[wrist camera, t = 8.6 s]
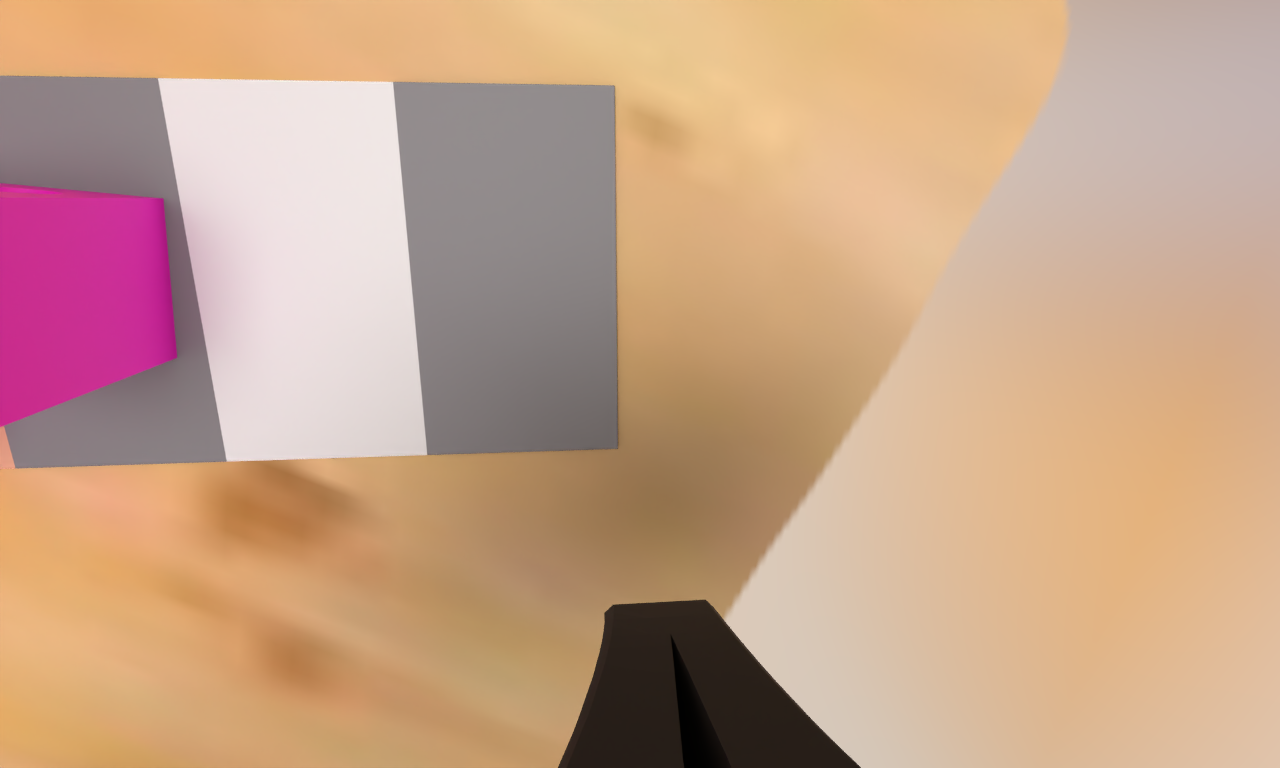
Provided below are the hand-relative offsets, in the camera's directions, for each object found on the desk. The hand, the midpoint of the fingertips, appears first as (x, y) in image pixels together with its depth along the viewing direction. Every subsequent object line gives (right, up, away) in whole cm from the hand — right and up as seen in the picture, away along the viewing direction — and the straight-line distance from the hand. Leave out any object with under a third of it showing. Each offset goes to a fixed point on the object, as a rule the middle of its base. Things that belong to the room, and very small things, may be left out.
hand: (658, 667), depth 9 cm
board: (-13, +6, +7) cm, 16 cm away
